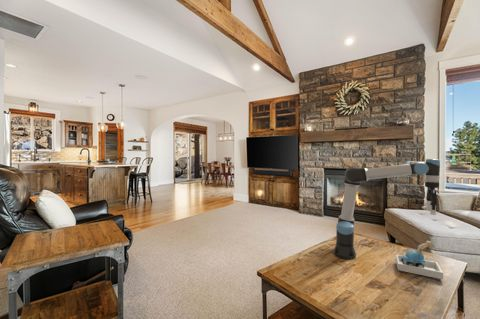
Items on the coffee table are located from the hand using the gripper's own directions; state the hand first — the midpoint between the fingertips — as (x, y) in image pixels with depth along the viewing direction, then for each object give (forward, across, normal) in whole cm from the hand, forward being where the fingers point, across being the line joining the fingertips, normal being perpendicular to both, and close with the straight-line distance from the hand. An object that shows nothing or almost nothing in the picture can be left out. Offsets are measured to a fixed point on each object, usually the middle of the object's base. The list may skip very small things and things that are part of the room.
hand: (430, 212), depth 162 cm
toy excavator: (+32, -20, +9) cm, 39 cm away
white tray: (+35, -20, +9) cm, 41 cm away
